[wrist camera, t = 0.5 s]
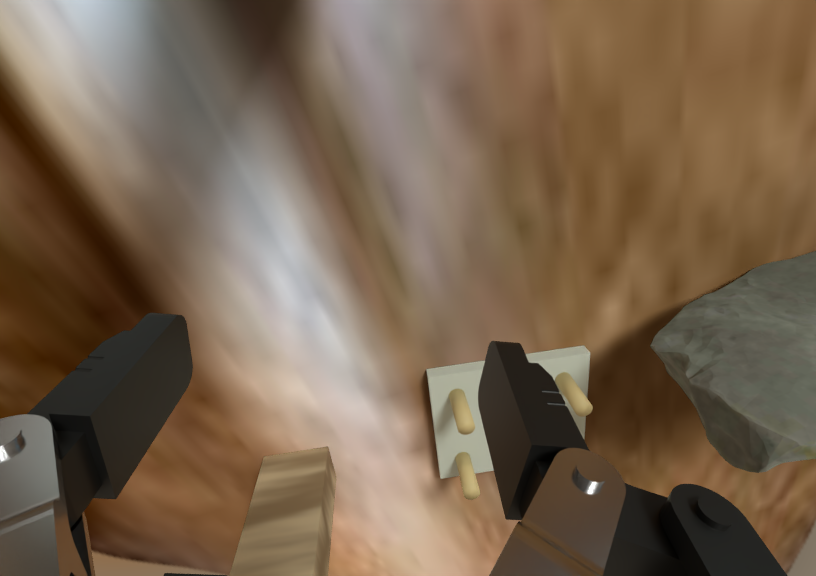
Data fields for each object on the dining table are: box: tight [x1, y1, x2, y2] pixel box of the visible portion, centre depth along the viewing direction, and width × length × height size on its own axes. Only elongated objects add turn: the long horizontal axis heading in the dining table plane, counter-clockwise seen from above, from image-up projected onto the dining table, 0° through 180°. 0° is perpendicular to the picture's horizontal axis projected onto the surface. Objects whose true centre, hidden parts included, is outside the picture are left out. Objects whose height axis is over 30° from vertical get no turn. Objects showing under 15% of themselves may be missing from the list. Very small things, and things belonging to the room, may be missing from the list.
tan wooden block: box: [229, 447, 336, 576], centre depth 34 cm, size 4×6×14 cm, turn 97°
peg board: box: [426, 346, 593, 500], centre depth 37 cm, size 12×14×5 cm
